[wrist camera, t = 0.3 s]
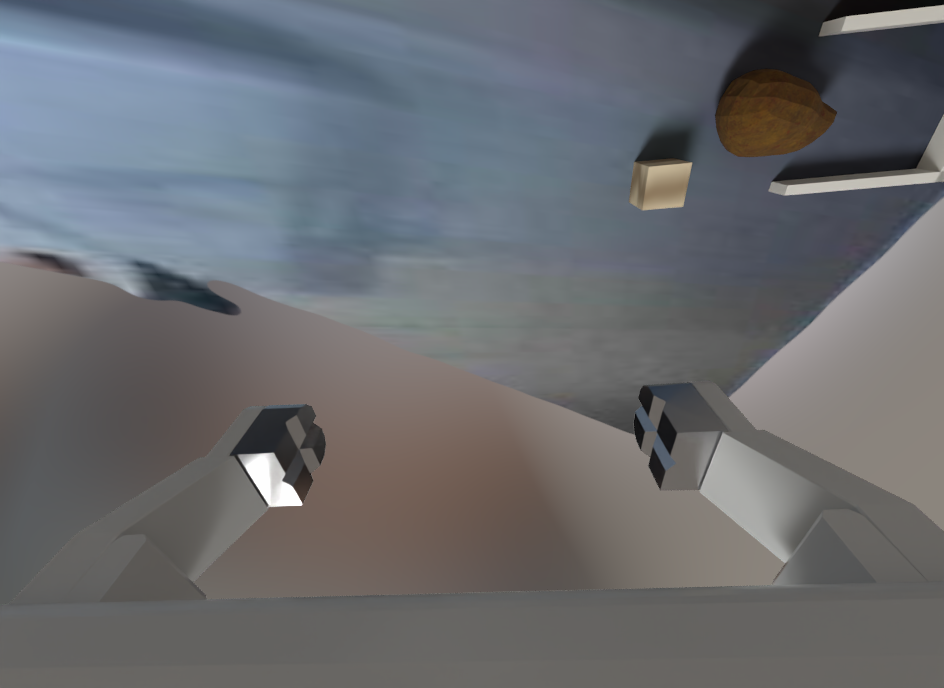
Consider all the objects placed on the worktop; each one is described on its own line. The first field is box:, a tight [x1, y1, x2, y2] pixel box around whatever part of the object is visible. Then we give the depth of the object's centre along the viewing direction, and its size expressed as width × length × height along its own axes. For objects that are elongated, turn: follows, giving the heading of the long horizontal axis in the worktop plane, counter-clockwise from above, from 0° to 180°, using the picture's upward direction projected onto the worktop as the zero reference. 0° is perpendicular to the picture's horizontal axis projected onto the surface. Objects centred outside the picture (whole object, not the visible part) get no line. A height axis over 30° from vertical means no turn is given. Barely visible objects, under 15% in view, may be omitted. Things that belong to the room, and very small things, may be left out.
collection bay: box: [769, 5, 944, 195], centre depth 43 cm, size 17×19×3 cm
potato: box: [715, 69, 837, 157], centre depth 41 cm, size 8×12×9 cm
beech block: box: [629, 158, 692, 210], centre depth 47 cm, size 5×5×5 cm
